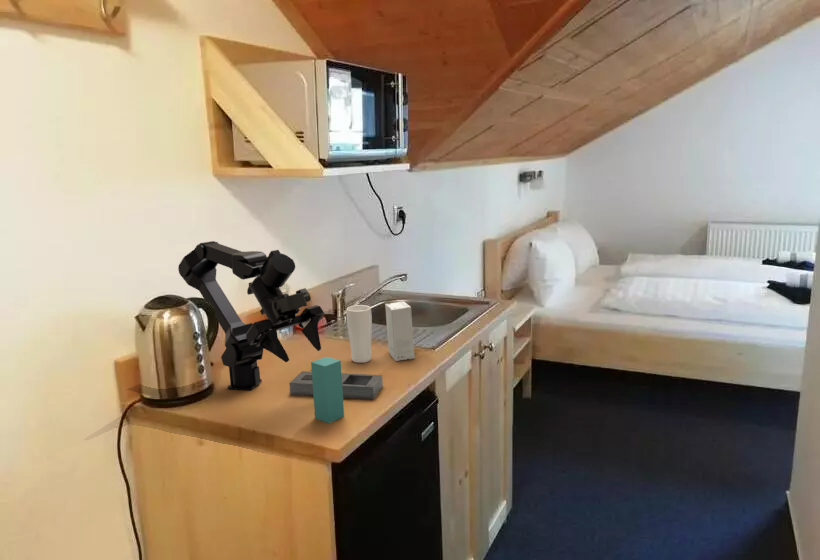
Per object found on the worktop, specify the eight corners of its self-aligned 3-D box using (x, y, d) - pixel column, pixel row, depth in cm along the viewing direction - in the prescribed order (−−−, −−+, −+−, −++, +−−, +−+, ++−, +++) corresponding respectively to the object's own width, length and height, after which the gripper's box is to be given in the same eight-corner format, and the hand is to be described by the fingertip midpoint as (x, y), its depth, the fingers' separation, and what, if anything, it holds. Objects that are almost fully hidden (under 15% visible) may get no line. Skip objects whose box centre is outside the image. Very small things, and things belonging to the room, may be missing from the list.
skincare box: (415, 359, 176) (413, 307, 173) (393, 361, 175) (391, 309, 172) (407, 350, 184) (405, 300, 181) (386, 352, 183) (384, 302, 180)
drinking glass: (372, 355, 181) (369, 304, 178) (375, 363, 174) (372, 310, 171) (348, 357, 180) (345, 305, 177) (350, 365, 173) (347, 312, 170)
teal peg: (315, 418, 141) (311, 362, 138) (330, 411, 144) (326, 356, 141) (328, 423, 138) (325, 366, 135) (344, 416, 141) (340, 360, 138)
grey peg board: (290, 394, 155) (289, 382, 154) (302, 382, 162) (302, 370, 162) (373, 399, 150) (373, 386, 149) (382, 386, 157) (382, 374, 157)
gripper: (250, 287, 135) (285, 348, 131) (317, 271, 149) (351, 326, 145) (231, 315, 142) (264, 374, 138) (297, 297, 156) (329, 351, 152)
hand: (304, 355), depth 143 cm, fingers open, 9 cm apart
